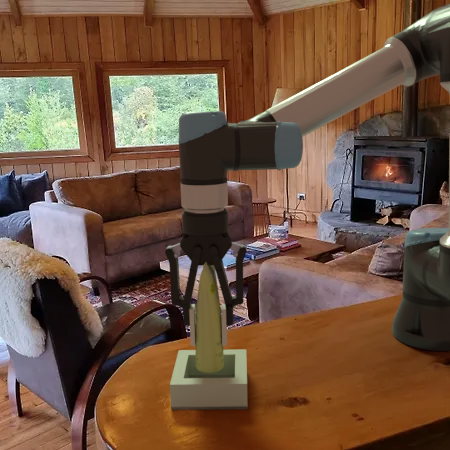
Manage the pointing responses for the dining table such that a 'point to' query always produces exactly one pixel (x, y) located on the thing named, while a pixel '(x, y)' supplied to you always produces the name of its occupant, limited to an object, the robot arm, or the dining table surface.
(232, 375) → the socket block
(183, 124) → the robot arm
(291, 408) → the dining table surface
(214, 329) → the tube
